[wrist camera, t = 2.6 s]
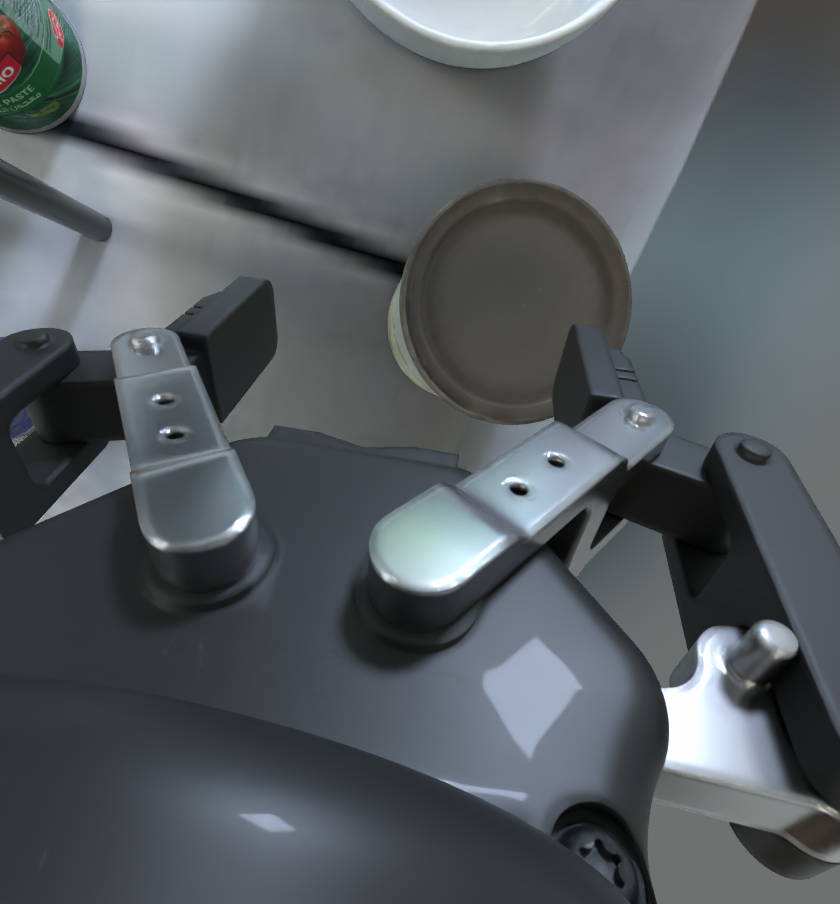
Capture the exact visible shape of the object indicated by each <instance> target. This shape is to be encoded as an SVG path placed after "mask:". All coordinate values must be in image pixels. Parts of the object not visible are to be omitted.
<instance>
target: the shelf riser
mask: <svg viewBox="0 0 840 904" xmlns="http://www.w3.org/2000/svg"><path fill="white" fill-rule="evenodd" d="M0 198H1V199H4V200H6V201H8V202H10V203H13V204H15V205H17V206H20V207H22V208H24V209H26V210H29V211H31V212H33V213H35V214H38V215H40V216H42V217H45V218H47V219H49V220H51V221H54V222H56V223H58V224H60V225H63V226H65V227H67V228H69V229H72V230H74V231H76V232H79V233H81V234H83V235H85V236H88V237H90V238H92V239H94V240H98V241H102V240H106V239H107V238H108V237H109V236H110V235H111V232H112V226H111V223H110V221H109V220H108V219H107V218H106V217H105V216H104V215H102V214H100V213H98V212H96V211H94V210H93V209H91V208H89V207H87V206H85V205H83V204H82V203H80V202H78V201H76V200H74V199H73V198H71V197H69V196H67V195H65V194H63V193H62V192H60V191H58V190H56V189H54V188H53V187H51V186H49V185H47V184H45V183H43V182H42V181H40V180H38V179H36V178H34V177H33V176H31V175H29V174H27V173H25V172H23V171H22V170H20V169H18V168H16V167H14V166H12V165H11V164H9V163H7V162H5V161H3V160H2V159H0Z"/></svg>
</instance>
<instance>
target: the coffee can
mask: <svg viewBox="0 0 840 904" xmlns="http://www.w3.org/2000/svg"><path fill="white" fill-rule="evenodd" d="M631 295H632V294H631V282H630V275H629V271H628V267H627V263H626V260H625V256H624V253H623V251H622V248H621V246H620V243H619V241H618V239H617V237H616V236H615V234H614V233H613V231H612V229H611V228H610V226H609V225H608V224H607V222H606V221H605V220H604V219H603V217H602V216H601V215H599V213H598V212H597V211H596V210H595V209H594V208H593V207H591V206H590V205H589V204H588V203H586V202H585V201H584V200H583V199H581V198H580V197H579V196H577V195H575V194H573V193H572V192H570V191H568V190H567V189H565V188H563V187H560V186H558V185H555V184H552V183H548V182H545V181H541V180H535V179H527V178H510V179H499V180H495V181H491V182H488V183H484V184H481V185H478V186H476V187H474V188H472V189H470V190H468V191H466V192H464V193H462V194H461V195H459V196H457V197H456V198H454V199H453V200H451V201H450V202H449V203H447V204H446V205H445V206H444V207H443V208H441V209H440V210H439V211H438V212H437V213H436V214H435V215H434V216H433V217H432V219H431V220H430V221H429V222H428V224H427V225H426V226H425V227H424V229H423V230H422V232H421V233H420V235H419V236H418V238H417V240H416V242H415V244H414V245H413V247H412V250H411V252H410V254H409V257H408V259H407V261H406V264H405V267H404V271H403V275H402V279H401V281H400V283H399V284H398V286H397V288H396V290H395V292H394V294H393V297H392V300H391V303H390V307H389V312H388V321H387V327H388V338H389V344H390V347H391V350H392V352H393V355H394V357H395V359H396V361H397V363H398V365H399V366H400V368H401V369H402V371H403V372H404V373H405V374H406V375H407V377H408V378H409V379H410V380H411V381H413V382H414V383H415V384H416V385H418V386H419V387H420V388H422V389H423V390H425V391H427V392H429V393H432V394H434V395H436V396H439V397H440V398H442V399H443V400H444V401H445V402H447V403H448V404H449V405H451V406H452V407H453V408H455V409H457V410H459V411H460V412H462V413H464V414H466V415H468V416H470V417H473V418H476V419H479V420H483V421H486V422H491V423H496V424H503V425H519V424H529V423H535V422H539V421H543V420H546V419H549V418H552V417H554V411H553V403H552V393H553V386H554V381H555V377H556V374H557V370H558V367H559V364H560V360H561V357H562V353H563V350H564V347H565V343H566V340H567V336H568V333H569V330H570V328H571V326H572V325H573V324H575V325H582V326H589V327H596V328H602V329H603V332H604V335H605V338H606V341H607V344H608V347H609V348H611V349H618V350H620V351H621V349H622V347H623V344H624V342H625V339H626V335H627V332H628V329H629V323H630V317H631V310H632V296H631Z"/></svg>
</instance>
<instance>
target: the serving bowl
mask: <svg viewBox="0 0 840 904" xmlns="http://www.w3.org/2000/svg"><path fill="white" fill-rule="evenodd" d="M350 1H351V2H352V3H353V4H354V5H355V7H356V8H357V9H358V10H359V11H360V12H361V13H362V14H363V15H364V16H365V17H366V18H367V19H368V20H369V21H370V22H371V23H372V24H373V25H374V26H376V27H377V28H378V29H379V30H380V31H382V32H383V33H384V34H386V35H387V36H388V37H390V38H391V39H393V40H394V41H396V42H397V43H399V44H400V45H402V46H403V47H405V48H407V49H409V50H411V51H413V52H415V53H417V54H419V55H421V56H423V57H426V58H428V59H431V60H434V61H437V62H440V63H444V64H447V65H453V66H458V67H465V68H476V69H486V68H500V67H507V66H512V65H517V64H520V63H524V62H527V61H530V60H533V59H536V58H539V57H541V56H544V55H546V54H548V53H550V52H552V51H554V50H556V49H558V48H560V47H562V46H563V45H565V44H567V43H568V42H570V41H571V40H573V39H574V38H576V37H577V36H579V35H580V34H582V33H583V32H584V31H586V30H587V29H588V28H589V27H591V26H592V25H593V24H594V23H595V22H597V21H598V20H599V19H600V18H601V17H602V16H603V15H604V14H605V13H606V12H607V11H608V10H609V9H610V8H612V7H613V6H614V5H615V4H616V3H617V2H618V0H350Z"/></svg>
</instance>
